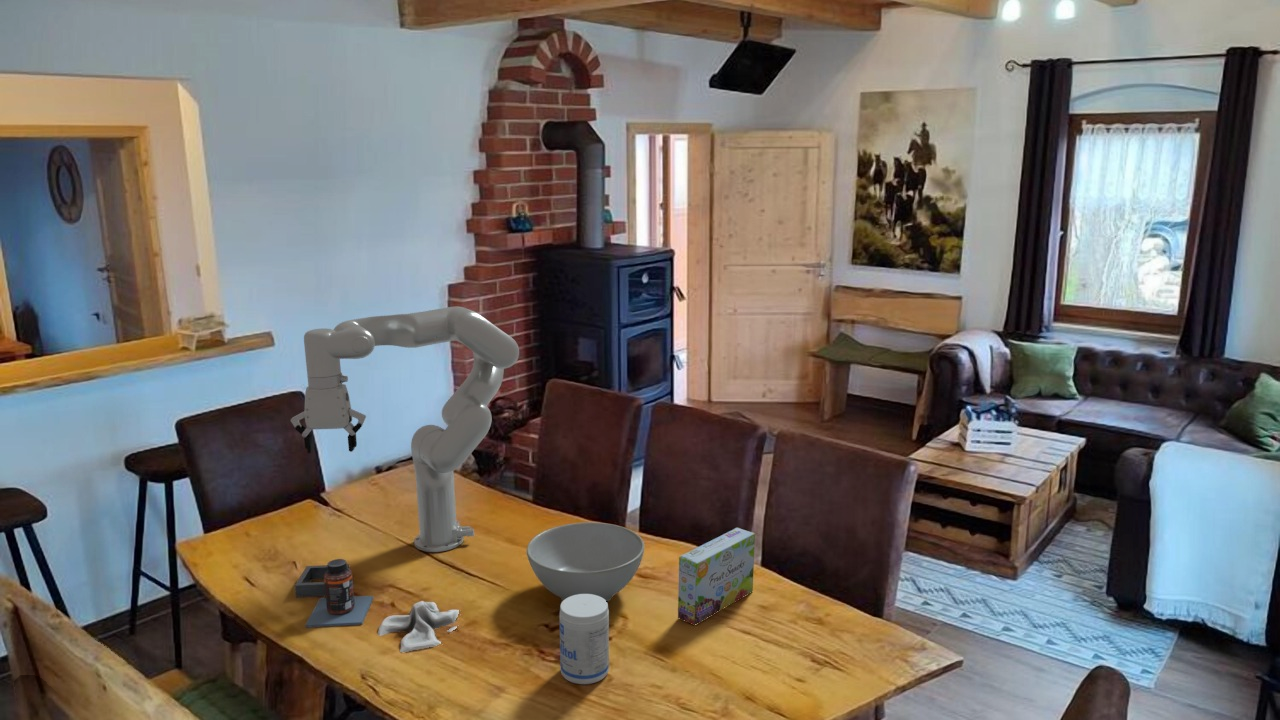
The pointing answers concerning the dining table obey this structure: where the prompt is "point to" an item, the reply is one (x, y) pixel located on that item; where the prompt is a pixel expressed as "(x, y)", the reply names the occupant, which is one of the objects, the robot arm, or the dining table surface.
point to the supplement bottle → (339, 587)
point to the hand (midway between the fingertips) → (331, 450)
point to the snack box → (715, 575)
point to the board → (354, 617)
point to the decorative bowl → (585, 558)
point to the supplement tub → (584, 638)
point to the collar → (314, 588)
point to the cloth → (419, 625)
